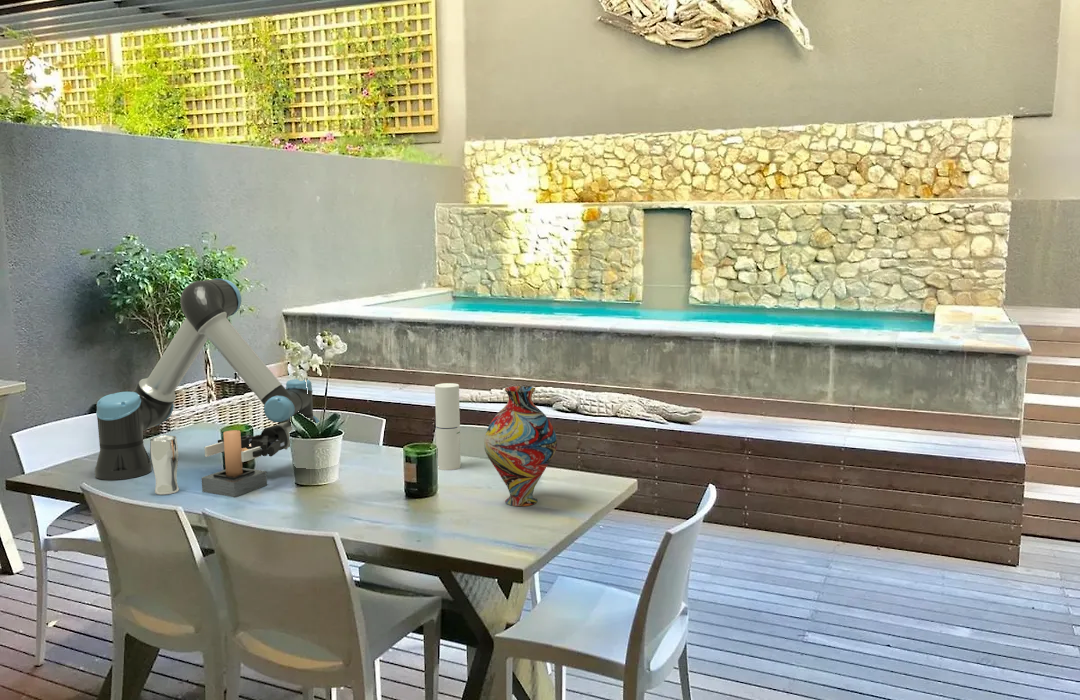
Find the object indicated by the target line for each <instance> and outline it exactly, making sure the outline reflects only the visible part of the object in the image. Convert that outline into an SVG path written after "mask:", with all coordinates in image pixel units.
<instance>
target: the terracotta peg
mask: <svg viewBox="0 0 1080 700" xmlns="http://www.w3.org/2000/svg"><path fill="white" fill-rule="evenodd" d="M241 434H242V433H241V430H237V429H231V430H225V431H224V432H223V439H224V463H225V464H224V465H225V470H226V476H233V477H235V476H238V475H241V474H243V468H244V467H243V462H242V458H241V452H243V450H242V448H241V437H242V436H241Z"/></svg>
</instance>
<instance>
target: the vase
mask: <svg viewBox="0 0 1080 700" xmlns="http://www.w3.org/2000/svg"><path fill="white" fill-rule="evenodd" d="M535 391H536V387H534V386H529V385H516V386H507V387H505V388H504V392H505V393H506V394H507V396H508V398H507V399H508V401H507V403H506V404H505V405H504V406H503V408H501V409H500V410H499V411H498V412H497V413H496V414H495V416H493V418H492V420H491V421H490V424H488V427H487V430H486V432H485V434H484V435H485V436H484V441H483V442H484V445H483V446H484V447H483V449H484V451H485V454H486V455H487V458H488V459H489V460H490V462H491V464H492V465H493V468H494V469H495V470H496V471H497V473H498V474H499V475H498V476H500V478H501V480H502V481H503V483H504V485H505V486H506V487H507V490H508V493H509V496H508V497H507V498H506V500H505V501H504V502H505V504H507V505H510V506H513V507H529V506H532V505H535V504H537V503H538V499H537V498H535V497H534V496H533V495H534V494H533V493H534V491H535V488H536V486H537V484H538V482H539V480H540V479H541V477H542V475H543V474H544V472H545V470H546V469H547V468H548V466H549V464H550V463H551V461H552V459H553V458H554V456H555V453H556V452H557V448H558V442H557V441H558V440H557V435H556V431H555V429H554V426H553V425H552V422H551V421H550V420H549V419H550V418H548V417H547V415H546V414H545V413H544V412H543V411H542V410H541V409H539V408H538V407H537V406H536V405H535V404H534V402H533V394H534V392H535Z"/></svg>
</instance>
